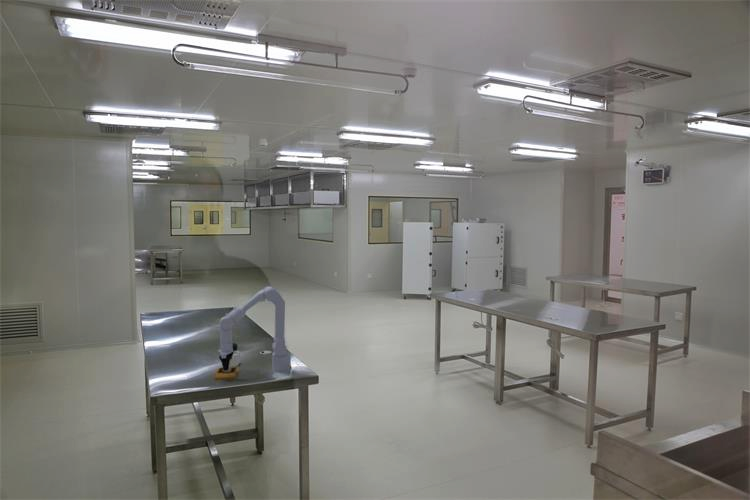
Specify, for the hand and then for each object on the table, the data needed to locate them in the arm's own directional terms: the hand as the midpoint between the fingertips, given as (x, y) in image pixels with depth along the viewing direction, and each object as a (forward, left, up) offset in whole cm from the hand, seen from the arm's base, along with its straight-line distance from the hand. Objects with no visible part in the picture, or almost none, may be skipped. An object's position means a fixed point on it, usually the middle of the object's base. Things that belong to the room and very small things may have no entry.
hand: (226, 368), depth 238 cm
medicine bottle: (+1, -18, -5) cm, 19 cm away
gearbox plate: (-5, 0, -4) cm, 7 cm away
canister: (0, 0, -2) cm, 2 cm away
